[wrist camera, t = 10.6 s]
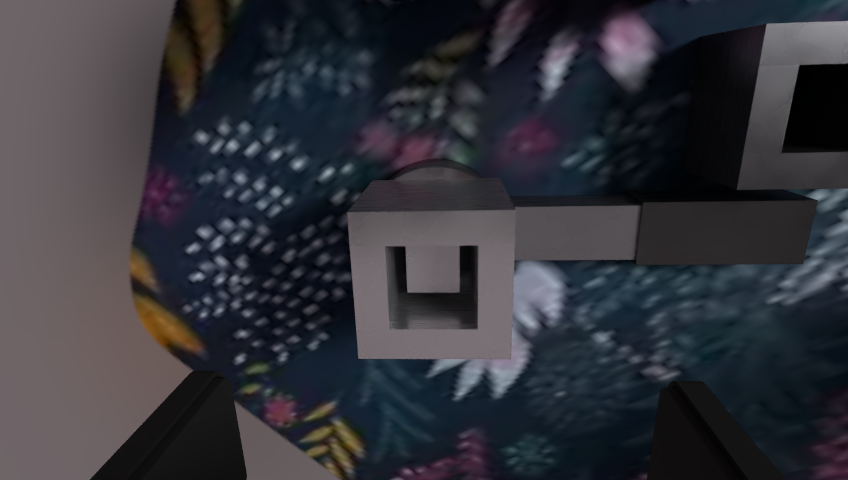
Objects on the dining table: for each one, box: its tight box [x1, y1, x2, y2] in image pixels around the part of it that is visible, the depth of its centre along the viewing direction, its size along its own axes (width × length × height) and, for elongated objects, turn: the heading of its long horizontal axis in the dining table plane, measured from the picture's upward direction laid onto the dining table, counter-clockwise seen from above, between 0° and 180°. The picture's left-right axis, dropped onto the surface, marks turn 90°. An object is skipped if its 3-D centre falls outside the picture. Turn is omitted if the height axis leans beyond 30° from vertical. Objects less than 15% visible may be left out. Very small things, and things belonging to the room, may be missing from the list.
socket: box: [347, 178, 516, 359], centre depth 21 cm, size 6×6×6 cm
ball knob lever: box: [390, 159, 818, 293], centre depth 23 cm, size 22×7×7 cm, turn 91°
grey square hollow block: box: [682, 21, 848, 190], centre depth 21 cm, size 6×6×5 cm
